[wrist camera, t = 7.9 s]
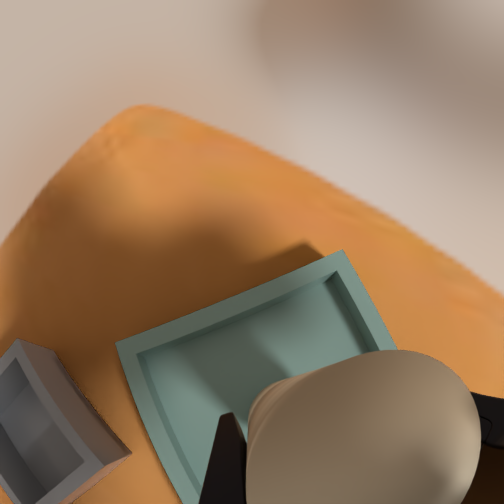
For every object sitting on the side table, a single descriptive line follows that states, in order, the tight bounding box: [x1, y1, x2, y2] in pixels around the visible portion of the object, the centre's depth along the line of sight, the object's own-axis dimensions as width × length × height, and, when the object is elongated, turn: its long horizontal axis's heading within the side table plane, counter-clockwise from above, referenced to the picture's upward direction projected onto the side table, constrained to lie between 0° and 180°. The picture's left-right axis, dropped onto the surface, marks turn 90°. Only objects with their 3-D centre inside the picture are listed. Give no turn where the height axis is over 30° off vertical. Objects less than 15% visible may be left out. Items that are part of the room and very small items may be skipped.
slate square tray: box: [0, 338, 132, 504], centre depth 12 cm, size 9×9×4 cm
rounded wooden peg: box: [246, 350, 481, 504], centre depth 8 cm, size 4×4×11 cm
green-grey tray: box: [115, 249, 398, 504], centre depth 15 cm, size 14×14×2 cm
